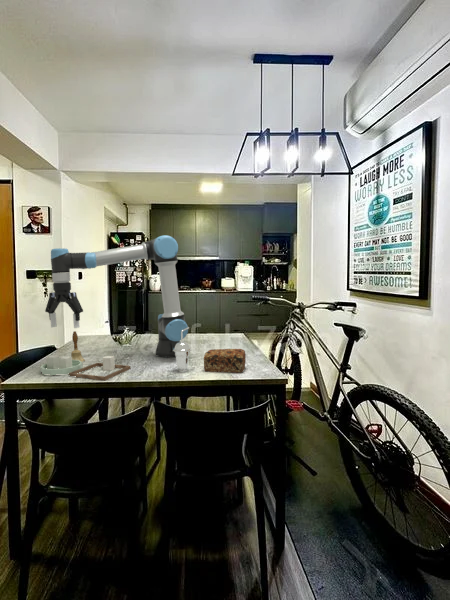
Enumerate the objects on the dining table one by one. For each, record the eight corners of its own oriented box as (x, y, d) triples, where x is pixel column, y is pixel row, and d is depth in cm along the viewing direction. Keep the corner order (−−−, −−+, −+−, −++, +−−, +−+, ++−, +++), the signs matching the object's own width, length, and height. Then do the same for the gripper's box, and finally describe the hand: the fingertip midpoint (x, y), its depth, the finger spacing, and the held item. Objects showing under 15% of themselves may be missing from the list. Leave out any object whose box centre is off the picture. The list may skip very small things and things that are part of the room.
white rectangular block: (60, 367, 173) (59, 355, 173) (53, 370, 169) (53, 357, 169) (53, 367, 174) (52, 355, 174) (47, 369, 170) (46, 357, 170)
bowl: (89, 367, 176) (89, 361, 175) (62, 377, 159) (62, 371, 159) (61, 364, 181) (61, 358, 181) (32, 374, 165) (32, 367, 165)
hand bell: (78, 363, 182) (77, 333, 181) (64, 363, 184) (62, 332, 183) (88, 359, 190) (86, 330, 189) (74, 359, 192) (72, 329, 191)
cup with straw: (170, 369, 170) (169, 328, 168) (188, 366, 174) (187, 326, 173) (177, 374, 163) (176, 330, 161) (195, 371, 167) (194, 328, 165)
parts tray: (130, 368, 172) (130, 365, 172) (104, 380, 154) (104, 377, 154) (97, 365, 178) (97, 362, 178) (68, 376, 161) (68, 373, 161)
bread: (246, 367, 172) (246, 347, 171) (242, 374, 162) (242, 352, 161) (208, 366, 176) (208, 346, 175) (202, 372, 166) (202, 351, 165)
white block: (72, 369, 171) (71, 356, 170) (66, 371, 167) (65, 358, 166) (65, 368, 172) (65, 356, 171) (59, 370, 168) (58, 358, 168)
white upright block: (114, 368, 174) (114, 356, 173) (111, 370, 170) (110, 358, 169) (107, 368, 174) (106, 355, 174) (103, 370, 170) (102, 357, 170)
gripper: (89, 281, 165) (92, 326, 167) (47, 282, 174) (51, 325, 176) (77, 282, 158) (80, 329, 160) (34, 282, 167) (38, 327, 169)
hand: (65, 327), depth 168 cm, fingers open, 13 cm apart
